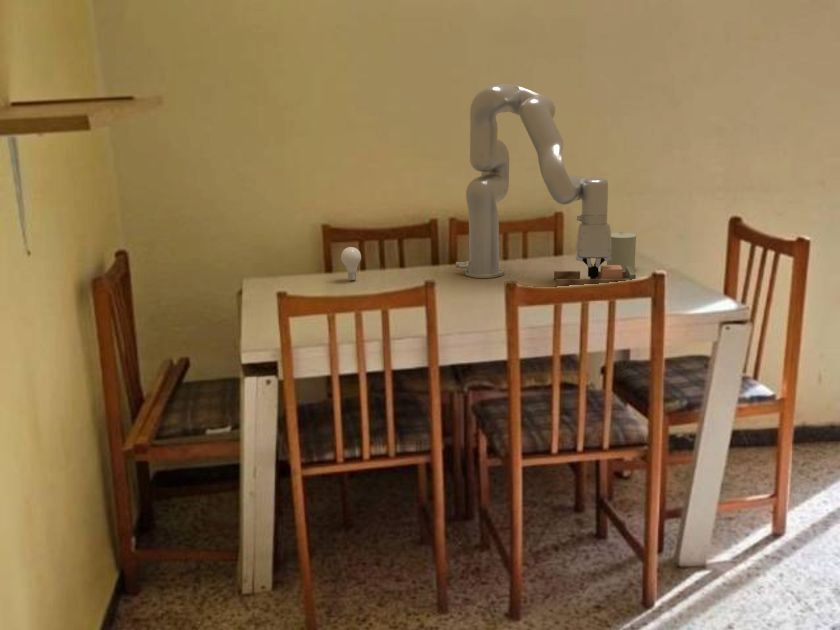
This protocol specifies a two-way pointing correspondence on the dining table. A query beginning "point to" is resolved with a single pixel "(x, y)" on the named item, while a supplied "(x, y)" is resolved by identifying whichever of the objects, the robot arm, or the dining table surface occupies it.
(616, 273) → the block
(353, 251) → the lightbulb
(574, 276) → the channel
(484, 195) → the robot arm
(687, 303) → the dining table surface
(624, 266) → the can
